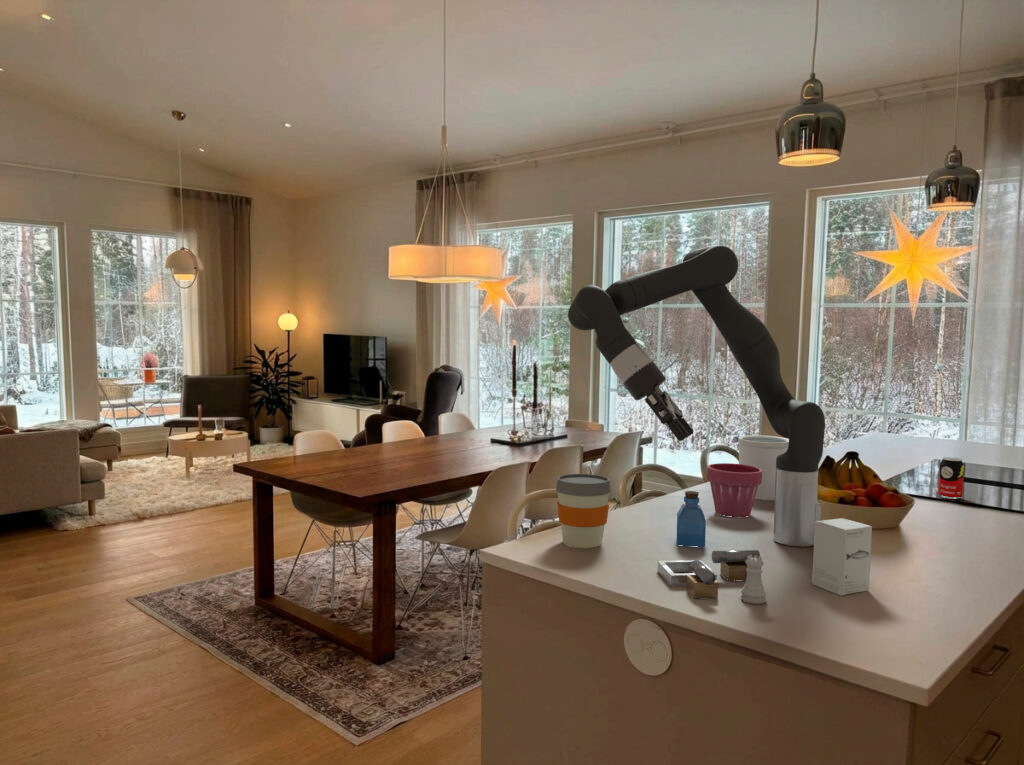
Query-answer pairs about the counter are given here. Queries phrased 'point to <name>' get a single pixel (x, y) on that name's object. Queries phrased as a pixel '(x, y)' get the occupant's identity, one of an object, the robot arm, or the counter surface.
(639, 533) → the counter surface
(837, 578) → the supplement box
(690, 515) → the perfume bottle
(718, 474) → the plant pot
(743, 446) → the utensil holder
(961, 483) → the beverage can
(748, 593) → the rook chess piece
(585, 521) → the reusable coffee cup
